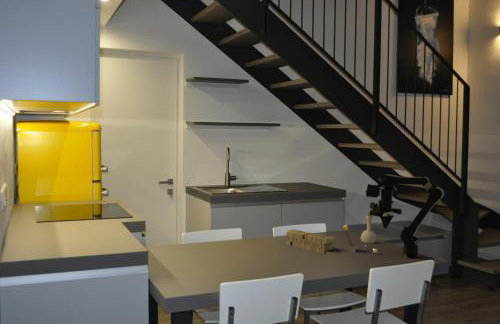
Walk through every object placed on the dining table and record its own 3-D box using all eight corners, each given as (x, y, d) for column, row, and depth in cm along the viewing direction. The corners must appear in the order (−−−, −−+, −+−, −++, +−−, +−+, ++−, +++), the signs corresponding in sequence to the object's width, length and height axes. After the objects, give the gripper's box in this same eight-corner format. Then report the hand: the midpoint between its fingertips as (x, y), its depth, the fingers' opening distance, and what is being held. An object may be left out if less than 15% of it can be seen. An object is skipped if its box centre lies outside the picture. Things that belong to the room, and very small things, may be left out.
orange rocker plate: (355, 248, 271) (346, 224, 272) (355, 250, 267) (347, 226, 267) (351, 249, 272) (343, 225, 272) (351, 251, 267) (343, 227, 267)
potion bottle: (375, 242, 297) (376, 211, 296) (377, 245, 288) (378, 213, 287) (359, 241, 298) (360, 210, 297) (361, 245, 289) (362, 213, 288)
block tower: (284, 246, 286) (325, 254, 265) (284, 230, 286) (325, 238, 265) (294, 244, 292) (335, 252, 270) (294, 229, 291) (335, 236, 270)
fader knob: (366, 249, 274) (366, 245, 274) (366, 250, 272) (366, 246, 271) (364, 249, 274) (364, 245, 274) (364, 249, 272) (364, 245, 272)
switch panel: (382, 252, 273) (382, 244, 273) (384, 257, 260) (384, 250, 260) (343, 249, 277) (344, 242, 276) (344, 255, 264) (344, 247, 264)
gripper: (386, 195, 281) (385, 224, 282) (362, 197, 270) (361, 227, 271) (403, 198, 272) (401, 228, 273) (378, 200, 261) (377, 231, 262)
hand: (385, 228), depth 270 cm, fingers closed
